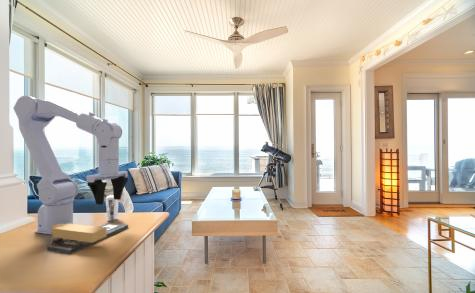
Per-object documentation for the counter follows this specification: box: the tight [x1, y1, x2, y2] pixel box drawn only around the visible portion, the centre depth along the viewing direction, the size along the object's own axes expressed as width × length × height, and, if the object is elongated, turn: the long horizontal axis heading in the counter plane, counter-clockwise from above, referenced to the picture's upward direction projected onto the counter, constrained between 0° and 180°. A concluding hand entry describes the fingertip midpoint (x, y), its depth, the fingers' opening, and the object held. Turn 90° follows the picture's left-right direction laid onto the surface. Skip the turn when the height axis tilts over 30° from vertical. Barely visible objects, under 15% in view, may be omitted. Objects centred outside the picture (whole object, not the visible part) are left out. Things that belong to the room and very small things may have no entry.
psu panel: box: [46, 222, 129, 255], centre depth 70 cm, size 8×20×1 cm, turn 164°
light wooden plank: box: [50, 223, 106, 244], centre depth 65 cm, size 16×4×2 cm, turn 74°
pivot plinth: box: [52, 236, 64, 244], centre depth 67 cm, size 2×2×2 cm
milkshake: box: [104, 194, 120, 222], centre depth 87 cm, size 4×5×10 cm
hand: (108, 201), depth 75 cm, fingers open, 6 cm apart
